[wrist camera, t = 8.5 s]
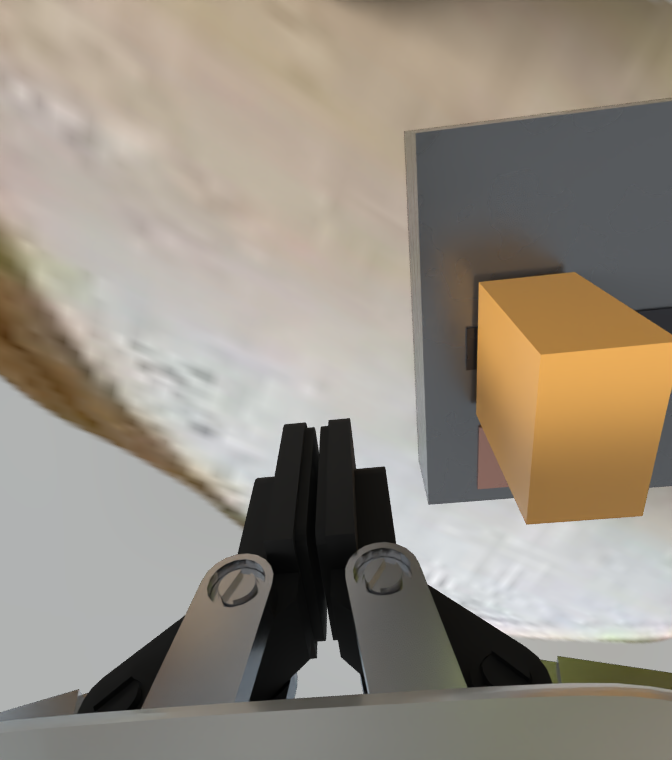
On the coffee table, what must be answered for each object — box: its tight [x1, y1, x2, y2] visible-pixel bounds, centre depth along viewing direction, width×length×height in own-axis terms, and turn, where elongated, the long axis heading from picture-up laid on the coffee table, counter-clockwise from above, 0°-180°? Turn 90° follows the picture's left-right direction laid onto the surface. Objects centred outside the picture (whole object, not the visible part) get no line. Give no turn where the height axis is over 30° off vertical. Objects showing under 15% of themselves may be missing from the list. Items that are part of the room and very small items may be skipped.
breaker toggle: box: [476, 272, 672, 525], centre depth 14 cm, size 3×5×6 cm, turn 7°
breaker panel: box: [404, 98, 672, 505], centre depth 18 cm, size 18×14×3 cm
